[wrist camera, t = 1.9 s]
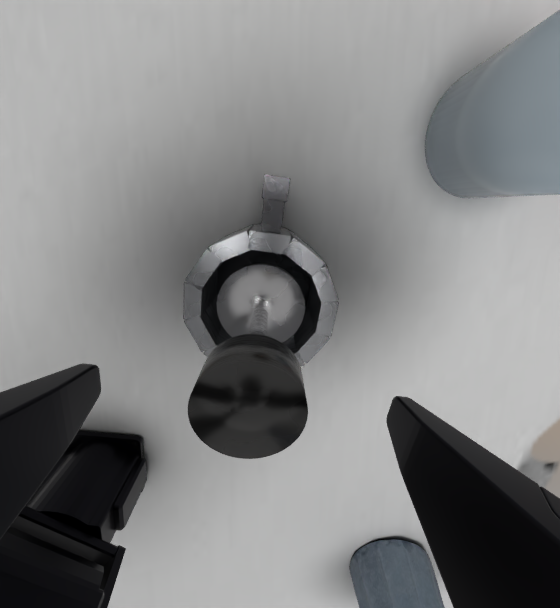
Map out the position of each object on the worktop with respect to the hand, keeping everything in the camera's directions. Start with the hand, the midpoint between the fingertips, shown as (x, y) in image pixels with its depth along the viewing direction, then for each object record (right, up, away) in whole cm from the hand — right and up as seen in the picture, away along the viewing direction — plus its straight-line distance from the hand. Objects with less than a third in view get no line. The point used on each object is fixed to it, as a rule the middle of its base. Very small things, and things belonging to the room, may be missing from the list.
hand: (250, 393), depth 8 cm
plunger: (0, +3, +7) cm, 7 cm away
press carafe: (0, +5, +10) cm, 12 cm away
